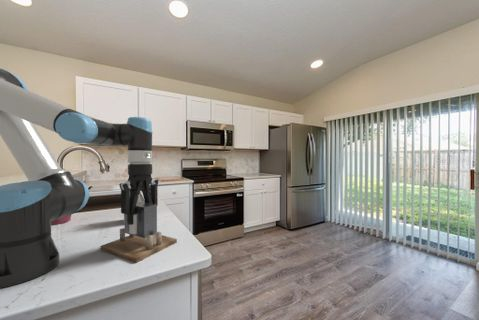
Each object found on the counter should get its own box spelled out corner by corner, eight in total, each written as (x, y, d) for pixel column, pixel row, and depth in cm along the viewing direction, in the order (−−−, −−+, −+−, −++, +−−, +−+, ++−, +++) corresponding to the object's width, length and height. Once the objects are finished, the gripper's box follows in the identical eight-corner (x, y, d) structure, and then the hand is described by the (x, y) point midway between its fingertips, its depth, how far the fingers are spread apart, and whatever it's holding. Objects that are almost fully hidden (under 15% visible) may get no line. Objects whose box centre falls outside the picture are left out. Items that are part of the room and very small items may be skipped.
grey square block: (144, 238, 65) (144, 207, 65) (124, 232, 70) (124, 204, 70) (156, 233, 70) (156, 204, 70) (137, 228, 74) (137, 201, 74)
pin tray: (136, 262, 59) (136, 244, 59) (100, 249, 67) (100, 233, 67) (176, 242, 73) (176, 227, 73) (142, 233, 81) (142, 220, 81)
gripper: (121, 164, 60) (122, 242, 60) (168, 162, 76) (168, 224, 76) (106, 163, 63) (107, 238, 63) (154, 162, 79) (154, 221, 79)
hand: (140, 230), depth 70 cm, fingers closed on grey square block, 5 cm apart
